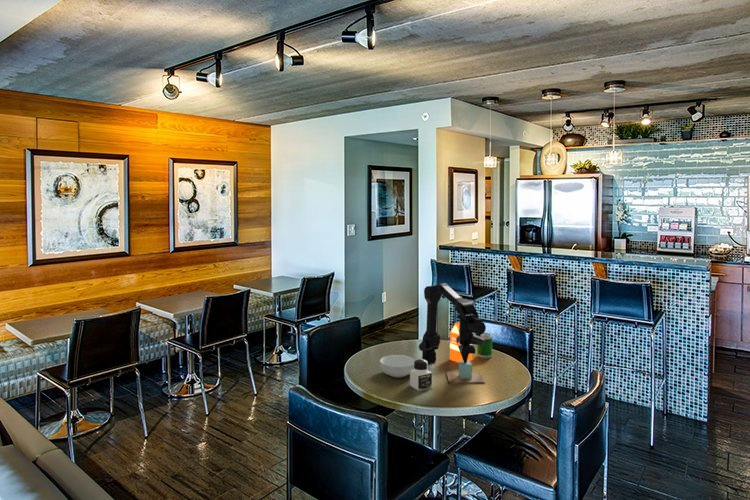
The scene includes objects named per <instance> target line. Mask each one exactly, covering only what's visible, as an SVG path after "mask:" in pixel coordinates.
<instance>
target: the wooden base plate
mask: <svg viewBox="0 0 750 500" xmlns="http://www.w3.org/2000/svg"><path fill="white" fill-rule="evenodd" d="M445 375H446V377H447V381H448V384H466V385H467V384H475V385H476V384H479V385H480V384H486V382H485V379H484V377H483V376H482V375H483V374H481V372H478V371H477V372H476V371H474V372H473V371H472V379H460V376H459V371H457V372H454V371H453V372H449V371H447V372H446V373H445Z"/></svg>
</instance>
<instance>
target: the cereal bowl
mask: <svg viewBox="0 0 750 500" xmlns="http://www.w3.org/2000/svg"><path fill="white" fill-rule="evenodd" d="M415 360H416V359H415V358H413V357H412V356H410V355H404V354H391V355H390V354H389V355H386V356H383V357H382V358H381V359H379V366H380V370H381V371H382V372H383V373H385V374H386V375H388V376H389V377H393V378H396V379H397V378H399V379H400V378H404V377H406V376H410V370H414V361H415Z"/></svg>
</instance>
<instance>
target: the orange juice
mask: <svg viewBox="0 0 750 500" xmlns="http://www.w3.org/2000/svg"><path fill="white" fill-rule="evenodd" d="M472 333H473V332H472ZM473 334H474V333H473ZM458 336H459V322H455V324H454V325H453V327H452V328H451V330H450V332H449V360H451V361H452V362H453V361H454V362H456V363H458V364H459V361H463V358H462V356H461V353H460V350H459V348H458V346H460V343H459V342H458V343H457V342H456V338H457V337H458ZM470 345H473V346H474V343H473V344H470ZM467 361H470V362H472V361H473V354H469V356H468V359H467Z"/></svg>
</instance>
